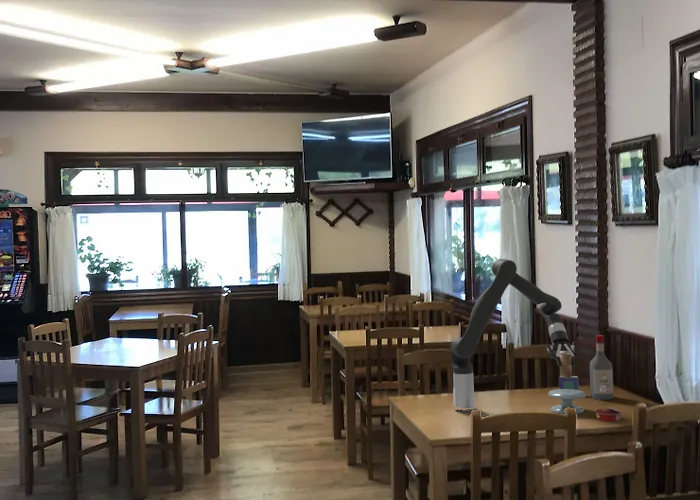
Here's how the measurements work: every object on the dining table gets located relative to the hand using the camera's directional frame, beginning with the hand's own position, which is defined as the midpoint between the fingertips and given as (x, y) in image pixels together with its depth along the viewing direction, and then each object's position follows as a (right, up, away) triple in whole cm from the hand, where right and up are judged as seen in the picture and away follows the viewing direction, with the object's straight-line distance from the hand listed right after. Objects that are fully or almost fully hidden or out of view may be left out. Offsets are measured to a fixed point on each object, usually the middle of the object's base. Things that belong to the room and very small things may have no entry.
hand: (566, 365), depth 313 cm
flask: (+11, -20, +32) cm, 39 cm away
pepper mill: (0, -5, +2) cm, 6 cm away
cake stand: (+1, -21, +2) cm, 21 cm away
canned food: (+14, -21, -13) cm, 28 cm away
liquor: (+24, -20, +23) cm, 39 cm away
